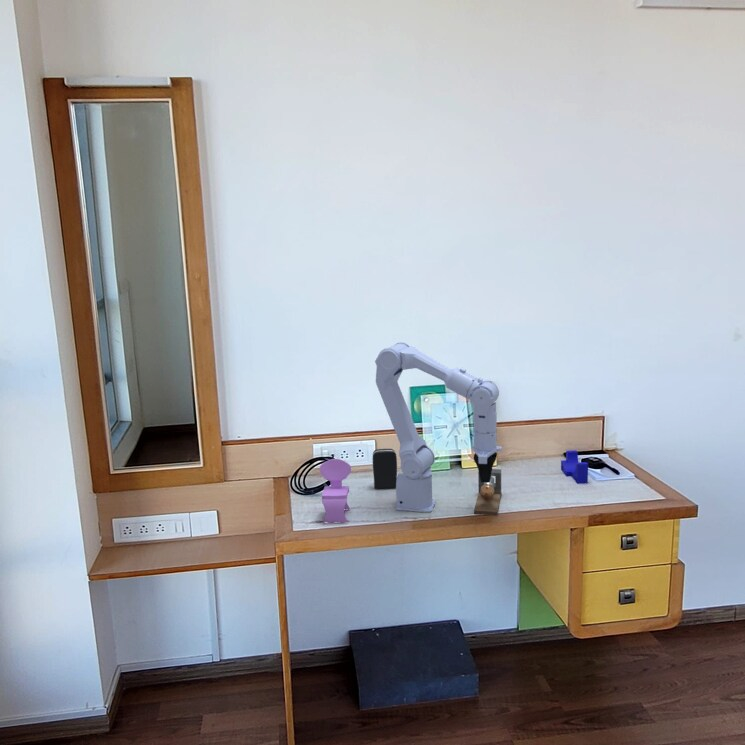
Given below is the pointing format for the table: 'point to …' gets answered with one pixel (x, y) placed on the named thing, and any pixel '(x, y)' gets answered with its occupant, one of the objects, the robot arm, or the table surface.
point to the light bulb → (487, 489)
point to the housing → (497, 481)
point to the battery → (384, 468)
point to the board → (487, 505)
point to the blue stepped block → (575, 467)
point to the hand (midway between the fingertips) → (485, 481)
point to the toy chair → (335, 489)
